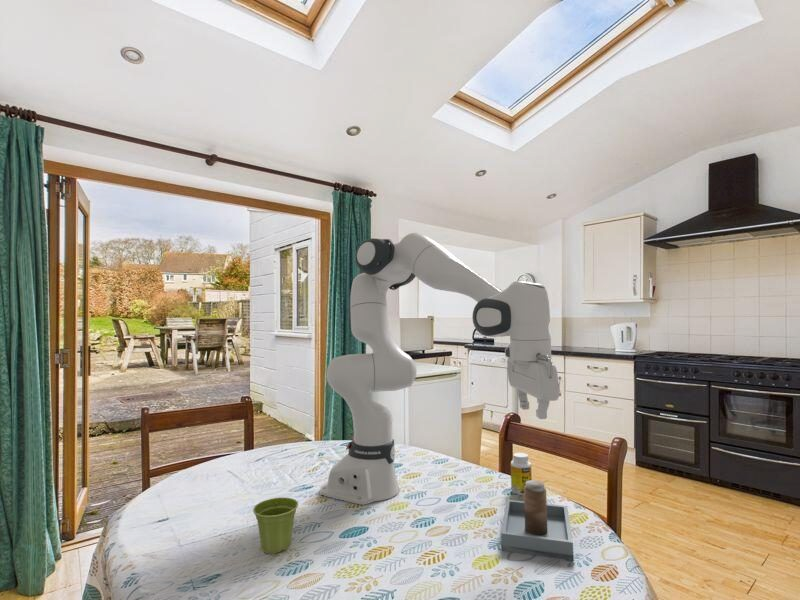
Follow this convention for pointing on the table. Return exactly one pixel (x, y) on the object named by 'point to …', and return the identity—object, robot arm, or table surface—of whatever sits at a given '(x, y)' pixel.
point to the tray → (546, 545)
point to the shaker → (535, 508)
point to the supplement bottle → (520, 472)
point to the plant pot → (275, 523)
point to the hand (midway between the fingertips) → (532, 413)
